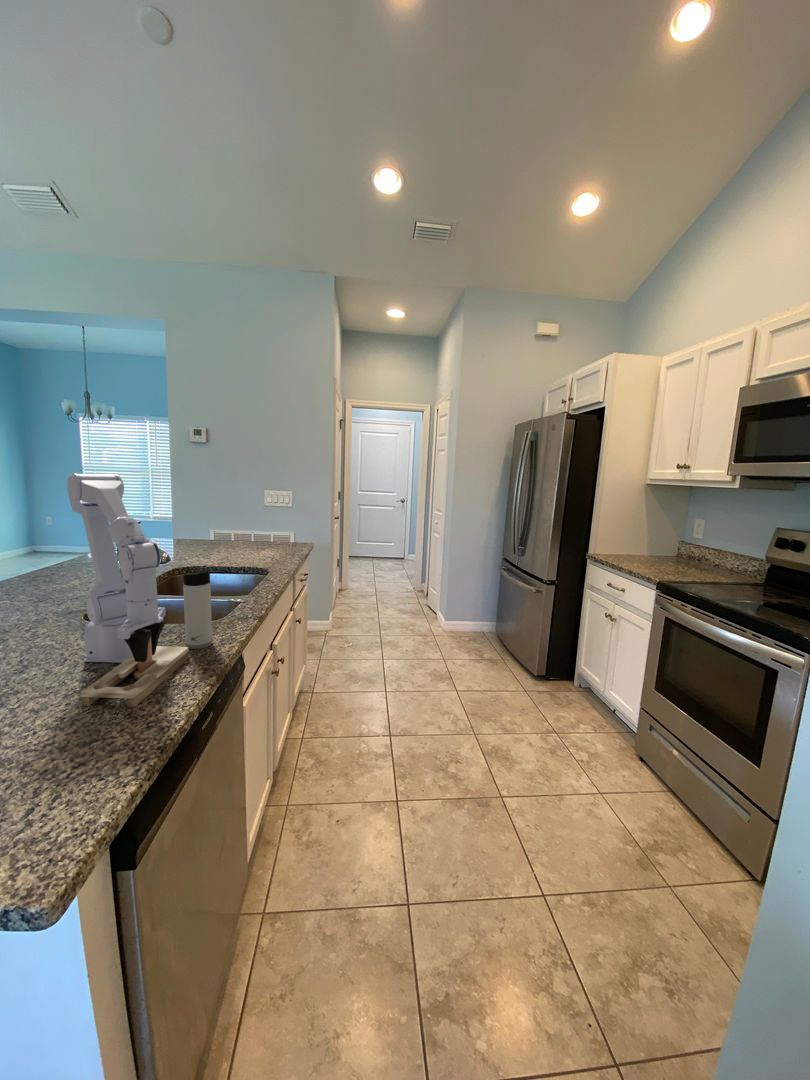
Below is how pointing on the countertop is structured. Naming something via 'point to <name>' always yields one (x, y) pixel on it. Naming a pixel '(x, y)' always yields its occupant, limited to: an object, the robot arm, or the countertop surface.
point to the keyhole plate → (162, 667)
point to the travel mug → (197, 609)
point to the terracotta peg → (145, 665)
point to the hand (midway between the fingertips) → (145, 657)
